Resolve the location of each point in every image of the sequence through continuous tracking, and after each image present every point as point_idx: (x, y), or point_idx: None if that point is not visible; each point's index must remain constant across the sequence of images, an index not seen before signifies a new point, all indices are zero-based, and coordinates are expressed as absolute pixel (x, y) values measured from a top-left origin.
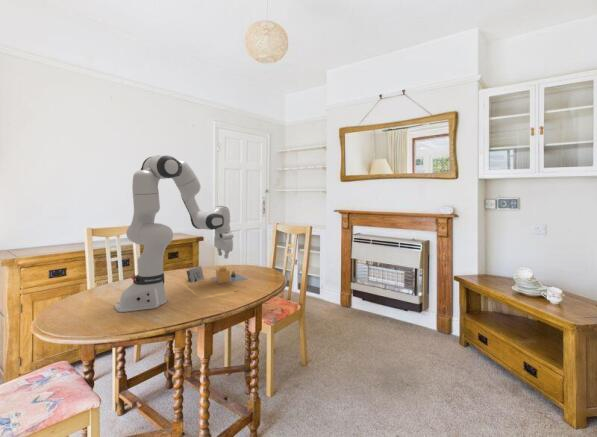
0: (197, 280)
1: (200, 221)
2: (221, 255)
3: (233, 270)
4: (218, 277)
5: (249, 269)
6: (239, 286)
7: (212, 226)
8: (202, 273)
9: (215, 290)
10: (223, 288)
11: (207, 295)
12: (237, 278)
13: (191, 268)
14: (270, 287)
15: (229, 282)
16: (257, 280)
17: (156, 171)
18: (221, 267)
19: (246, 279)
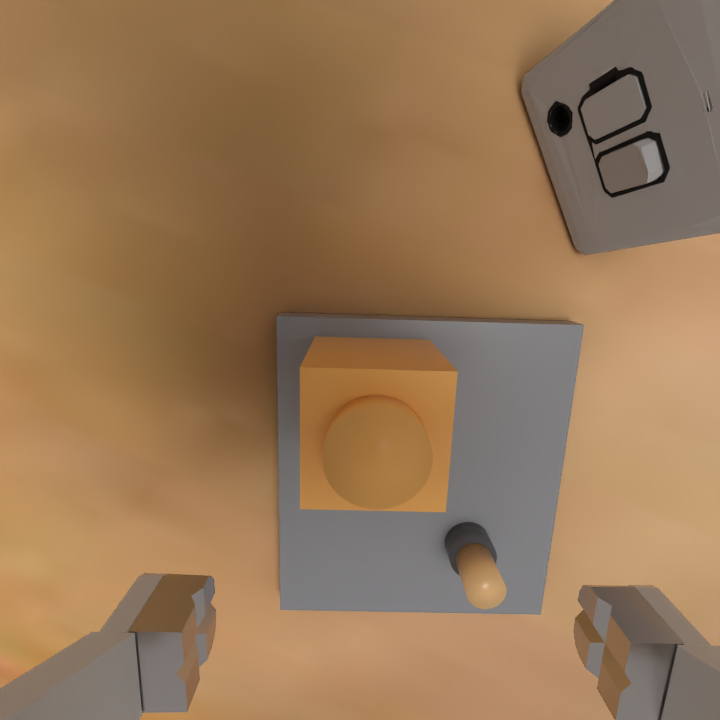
0: (562, 148)
1: None
2: (574, 630)
3: (477, 592)
4: (358, 348)
5: None
6: (191, 473)
7: None
8: (651, 235)
9: (180, 227)
10: (205, 323)
11: (49, 86)
12: (376, 547)
13: None
14: (33, 660)
15: (281, 426)
16: (286, 669)
17: None
18: (409, 450)
19: (292, 598)
